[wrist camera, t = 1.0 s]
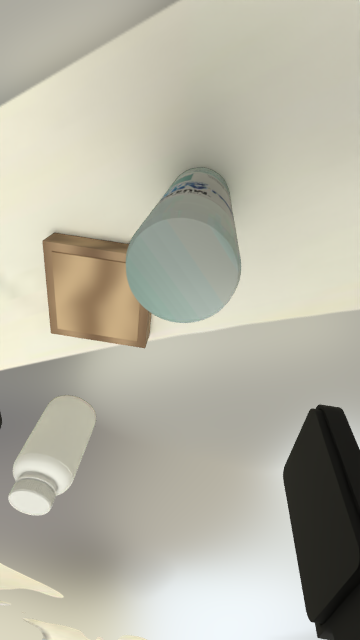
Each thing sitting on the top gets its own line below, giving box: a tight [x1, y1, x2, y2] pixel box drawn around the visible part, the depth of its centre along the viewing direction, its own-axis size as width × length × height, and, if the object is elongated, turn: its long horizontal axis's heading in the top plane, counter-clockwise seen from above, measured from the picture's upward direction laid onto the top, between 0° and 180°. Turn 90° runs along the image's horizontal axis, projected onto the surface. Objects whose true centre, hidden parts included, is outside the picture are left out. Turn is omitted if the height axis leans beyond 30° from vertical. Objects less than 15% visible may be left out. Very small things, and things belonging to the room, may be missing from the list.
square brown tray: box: [43, 233, 151, 348], centre depth 41 cm, size 12×12×3 cm
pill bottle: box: [8, 395, 96, 515], centre depth 48 cm, size 8×8×15 cm
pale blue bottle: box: [126, 168, 241, 323], centre depth 27 cm, size 6×6×20 cm
